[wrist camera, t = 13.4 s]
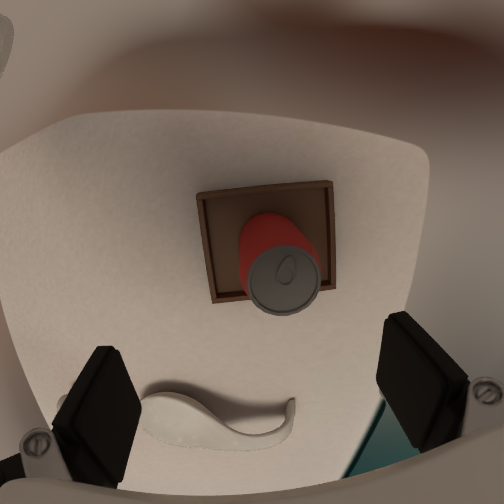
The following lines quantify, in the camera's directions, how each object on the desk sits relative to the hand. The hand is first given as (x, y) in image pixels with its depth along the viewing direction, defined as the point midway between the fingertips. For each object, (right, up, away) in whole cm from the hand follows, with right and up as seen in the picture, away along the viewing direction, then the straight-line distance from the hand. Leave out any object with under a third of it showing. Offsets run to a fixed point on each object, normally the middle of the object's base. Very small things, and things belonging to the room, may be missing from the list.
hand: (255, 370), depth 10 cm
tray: (+2, +5, +24) cm, 25 cm away
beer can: (+2, +5, +24) cm, 24 cm away
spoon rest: (-6, -20, +31) cm, 37 cm away
